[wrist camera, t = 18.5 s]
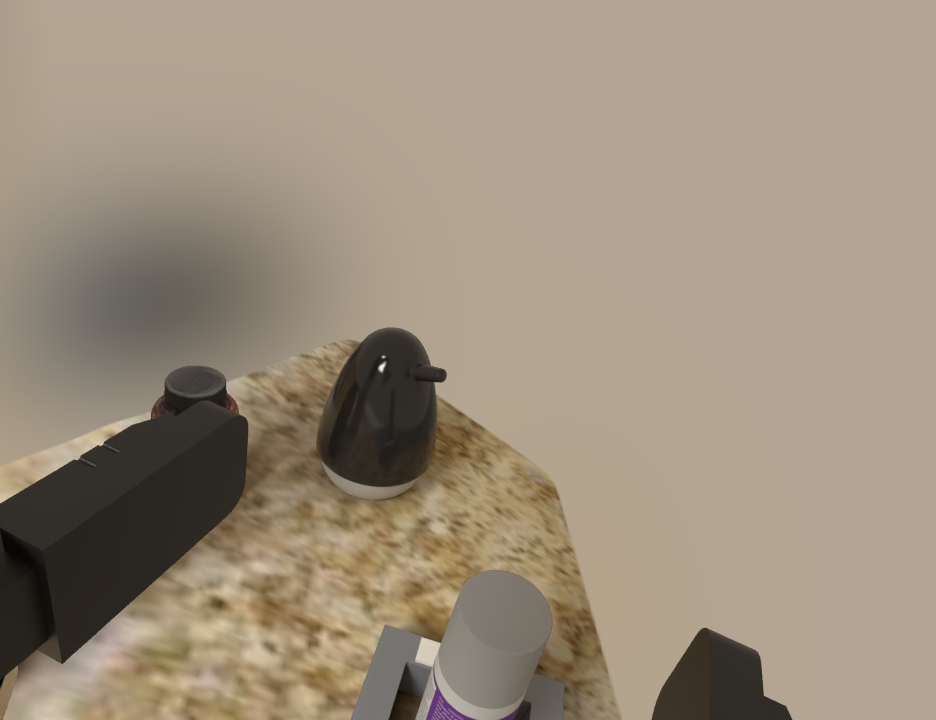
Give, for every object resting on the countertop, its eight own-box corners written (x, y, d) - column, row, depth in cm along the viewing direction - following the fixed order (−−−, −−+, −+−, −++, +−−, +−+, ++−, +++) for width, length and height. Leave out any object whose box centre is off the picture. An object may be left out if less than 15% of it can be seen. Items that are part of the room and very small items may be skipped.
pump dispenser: (368, 539, 49) (400, 383, 41) (287, 469, 53) (303, 317, 46) (448, 486, 56) (488, 346, 49) (372, 428, 61) (397, 293, 54)
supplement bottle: (175, 464, 51) (173, 349, 45) (246, 478, 51) (253, 366, 46) (139, 515, 46) (132, 392, 40) (219, 530, 46) (223, 411, 41)
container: (493, 799, 34) (575, 635, 27) (421, 842, 32) (491, 673, 25) (454, 722, 38) (517, 556, 30) (385, 755, 35) (437, 583, 28)
